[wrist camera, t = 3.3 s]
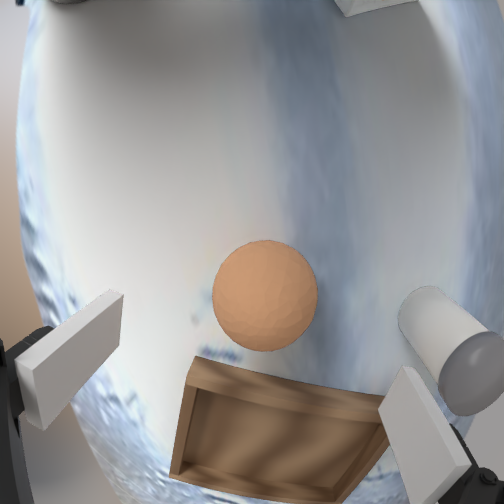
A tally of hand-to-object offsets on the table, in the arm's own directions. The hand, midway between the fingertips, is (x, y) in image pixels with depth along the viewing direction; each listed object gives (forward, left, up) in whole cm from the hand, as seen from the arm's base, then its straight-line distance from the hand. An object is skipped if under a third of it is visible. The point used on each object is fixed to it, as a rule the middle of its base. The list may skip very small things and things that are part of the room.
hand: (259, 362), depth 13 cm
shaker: (+14, 0, -12) cm, 18 cm away
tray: (+6, -17, -12) cm, 21 cm away
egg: (0, 0, -12) cm, 12 cm away
